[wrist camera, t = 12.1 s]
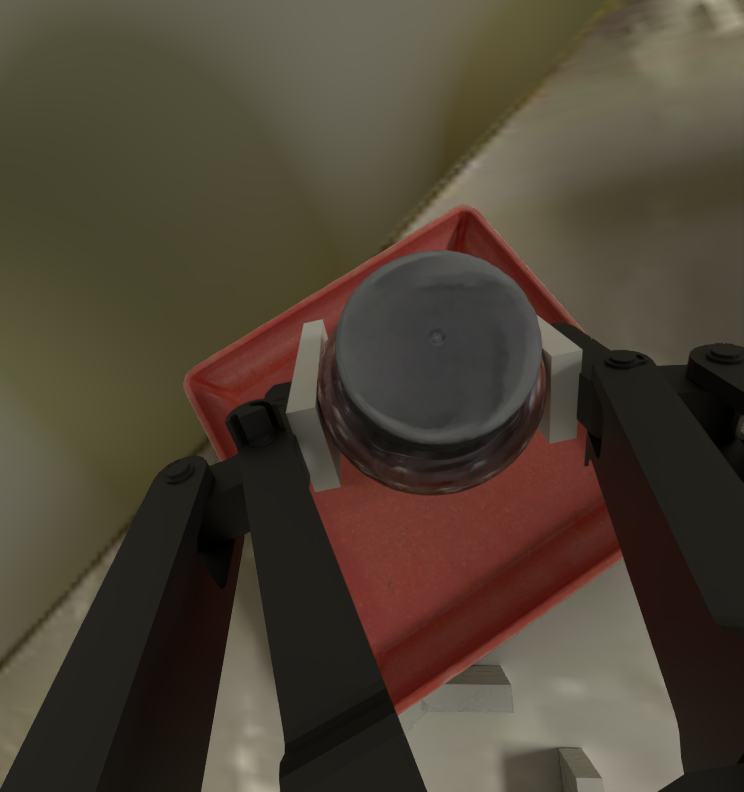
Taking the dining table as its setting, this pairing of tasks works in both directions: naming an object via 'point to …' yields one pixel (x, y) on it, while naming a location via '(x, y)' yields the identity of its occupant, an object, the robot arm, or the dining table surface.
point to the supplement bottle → (433, 374)
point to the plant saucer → (434, 498)
